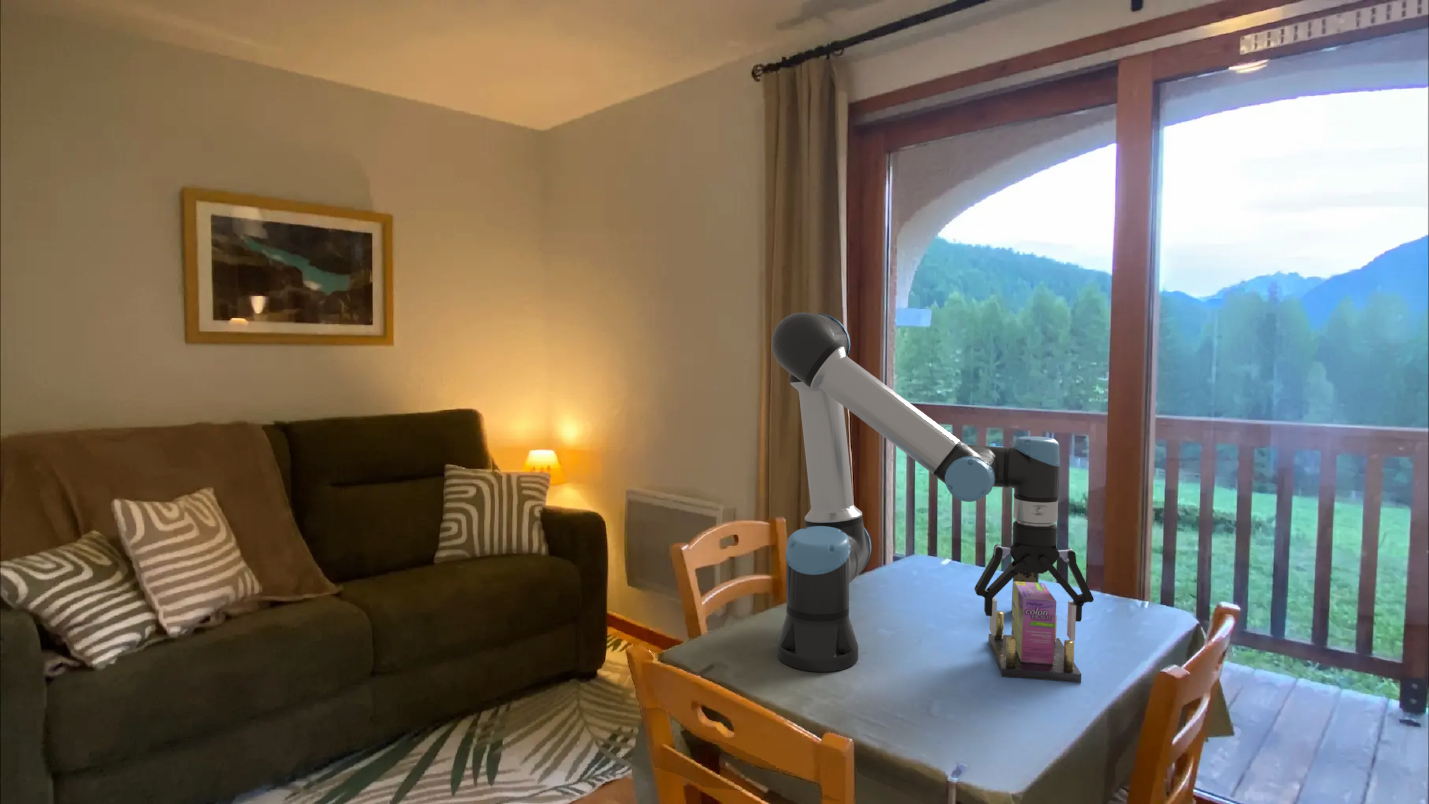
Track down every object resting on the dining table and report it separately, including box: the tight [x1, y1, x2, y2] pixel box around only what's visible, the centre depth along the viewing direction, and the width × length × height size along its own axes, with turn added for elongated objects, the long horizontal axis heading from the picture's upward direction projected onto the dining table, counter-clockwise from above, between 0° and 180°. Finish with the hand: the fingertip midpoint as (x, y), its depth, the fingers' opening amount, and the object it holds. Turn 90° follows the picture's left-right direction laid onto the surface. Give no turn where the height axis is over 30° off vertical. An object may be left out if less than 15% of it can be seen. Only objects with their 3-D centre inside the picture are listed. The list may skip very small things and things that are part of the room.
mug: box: [1011, 570, 1040, 602], centre depth 174 cm, size 8×6×12 cm
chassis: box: [987, 610, 1082, 684], centre depth 147 cm, size 13×17×6 cm
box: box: [1010, 581, 1057, 664], centre depth 147 cm, size 10×6×12 cm, turn 169°
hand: (1031, 635), depth 147 cm, fingers open, 13 cm apart
